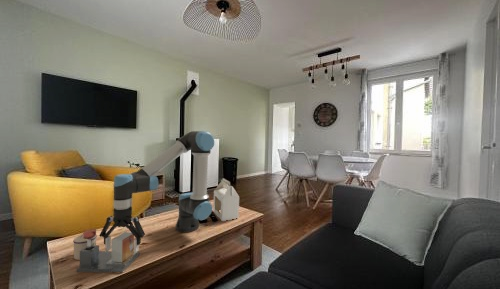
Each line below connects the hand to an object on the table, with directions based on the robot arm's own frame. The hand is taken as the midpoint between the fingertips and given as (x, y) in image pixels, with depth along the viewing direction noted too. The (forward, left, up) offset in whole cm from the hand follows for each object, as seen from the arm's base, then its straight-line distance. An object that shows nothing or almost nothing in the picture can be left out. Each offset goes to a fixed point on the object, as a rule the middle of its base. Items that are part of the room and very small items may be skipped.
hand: (122, 250), depth 98 cm
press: (+5, +1, -5) cm, 7 cm away
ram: (+13, +4, +1) cm, 13 cm away
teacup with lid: (+22, -6, -5) cm, 23 cm away
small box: (0, 0, -3) cm, 3 cm away
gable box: (-43, -63, -6) cm, 76 cm away
